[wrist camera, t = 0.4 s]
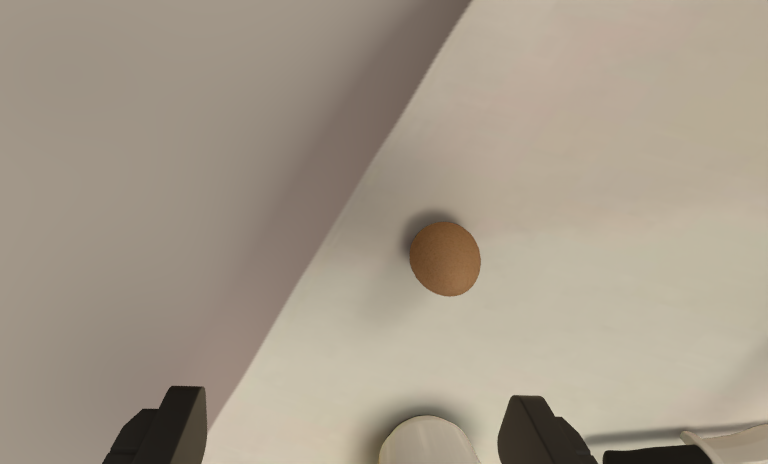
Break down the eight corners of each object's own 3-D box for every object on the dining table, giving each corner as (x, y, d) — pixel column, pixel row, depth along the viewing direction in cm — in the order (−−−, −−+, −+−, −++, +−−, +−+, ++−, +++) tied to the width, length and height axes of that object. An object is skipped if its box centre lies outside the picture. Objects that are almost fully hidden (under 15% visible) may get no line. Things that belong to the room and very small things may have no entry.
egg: (406, 210, 28) (422, 249, 23) (470, 210, 29) (501, 248, 23) (402, 268, 30) (416, 317, 24) (462, 267, 30) (490, 315, 25)
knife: (821, 413, 41) (881, 458, 37) (813, 426, 42) (871, 471, 38) (582, 433, 39) (615, 484, 34) (579, 446, 40) (610, 498, 35)
